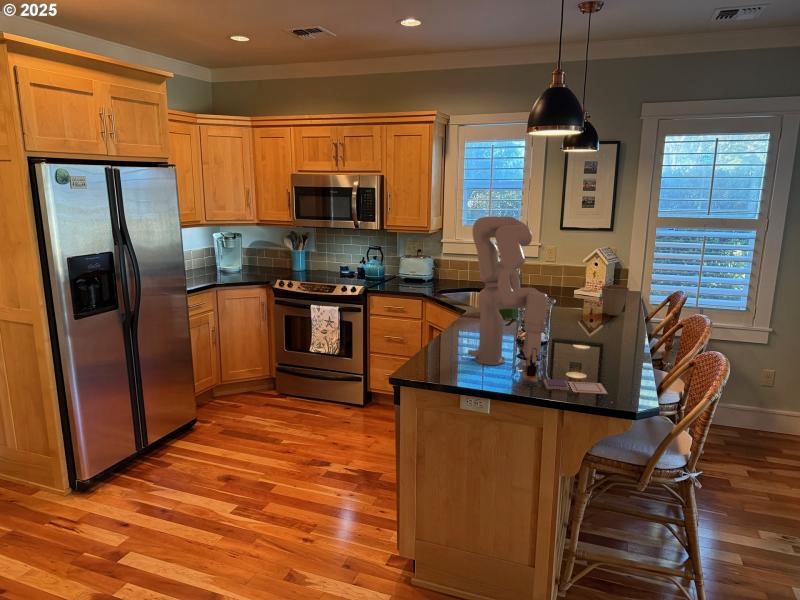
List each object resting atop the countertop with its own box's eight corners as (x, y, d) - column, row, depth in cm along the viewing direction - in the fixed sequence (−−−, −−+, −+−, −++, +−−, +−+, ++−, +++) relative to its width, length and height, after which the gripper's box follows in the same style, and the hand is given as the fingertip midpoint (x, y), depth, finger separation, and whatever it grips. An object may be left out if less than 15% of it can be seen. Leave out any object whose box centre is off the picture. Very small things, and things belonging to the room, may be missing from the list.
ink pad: (546, 389, 191) (546, 385, 190) (543, 382, 197) (543, 378, 197) (569, 390, 190) (569, 386, 189) (565, 383, 196) (565, 379, 196)
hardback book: (484, 313, 305) (485, 272, 300) (490, 311, 311) (492, 271, 306) (511, 318, 295) (514, 276, 290) (517, 316, 300) (520, 274, 295)
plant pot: (595, 314, 307) (597, 287, 304) (604, 310, 318) (607, 284, 315) (621, 318, 297) (624, 290, 294) (630, 313, 308) (633, 287, 305)
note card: (572, 392, 188) (572, 391, 188) (567, 382, 198) (567, 381, 198) (607, 394, 187) (607, 393, 187) (600, 383, 196) (600, 382, 196)
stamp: (523, 382, 194) (526, 351, 191) (522, 378, 197) (524, 348, 195) (537, 383, 193) (540, 352, 190) (536, 378, 197) (538, 349, 194)
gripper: (521, 319, 199) (518, 365, 203) (526, 332, 183) (522, 381, 187) (542, 320, 198) (537, 366, 202) (548, 333, 182) (543, 383, 186)
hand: (530, 373), depth 195 cm, fingers closed on stamp, 3 cm apart
